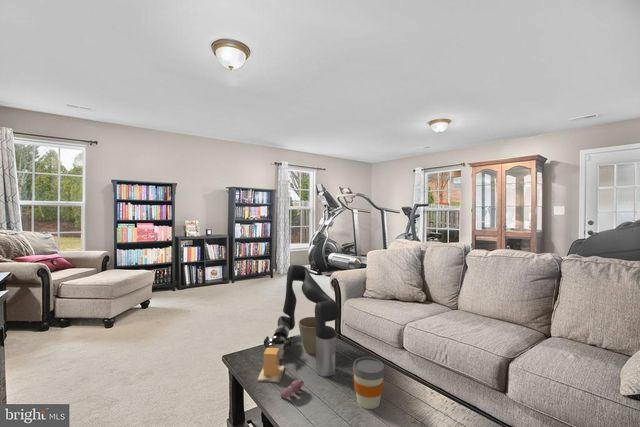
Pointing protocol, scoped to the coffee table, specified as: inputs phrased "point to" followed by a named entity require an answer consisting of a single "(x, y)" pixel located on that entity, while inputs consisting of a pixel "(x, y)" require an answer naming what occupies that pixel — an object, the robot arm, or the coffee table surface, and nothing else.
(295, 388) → the video game controller
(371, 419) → the coffee table surface
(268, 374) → the tall orange pillar
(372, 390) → the reusable coffee cup
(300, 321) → the plant pot
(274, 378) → the flat beige base block
